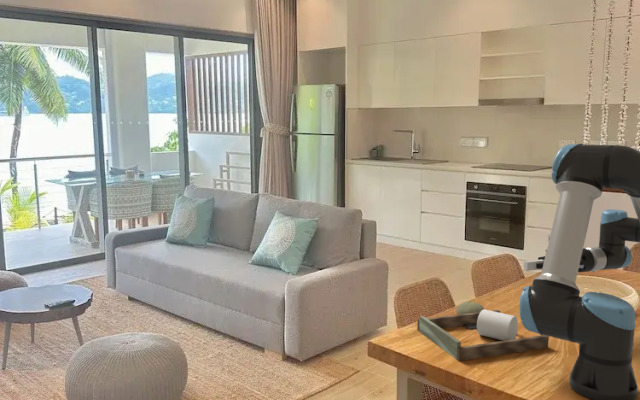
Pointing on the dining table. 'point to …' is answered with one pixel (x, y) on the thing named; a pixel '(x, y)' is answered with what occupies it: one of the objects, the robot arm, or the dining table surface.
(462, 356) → the wooden tray
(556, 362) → the dining table surface
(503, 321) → the mug
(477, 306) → the sea urchin shell
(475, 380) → the dining table surface
